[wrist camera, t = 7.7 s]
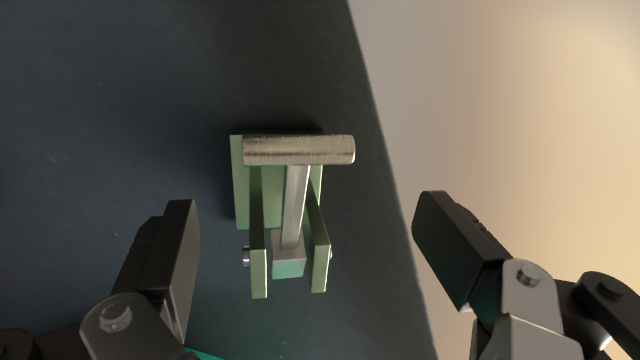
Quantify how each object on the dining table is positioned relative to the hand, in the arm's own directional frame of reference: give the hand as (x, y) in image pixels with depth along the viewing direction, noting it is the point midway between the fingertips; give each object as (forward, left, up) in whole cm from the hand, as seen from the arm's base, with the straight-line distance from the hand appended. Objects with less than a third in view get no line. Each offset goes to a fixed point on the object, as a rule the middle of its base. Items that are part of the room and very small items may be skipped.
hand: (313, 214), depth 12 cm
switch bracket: (+7, +6, -17) cm, 20 cm away
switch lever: (+3, +3, -7) cm, 8 cm away
